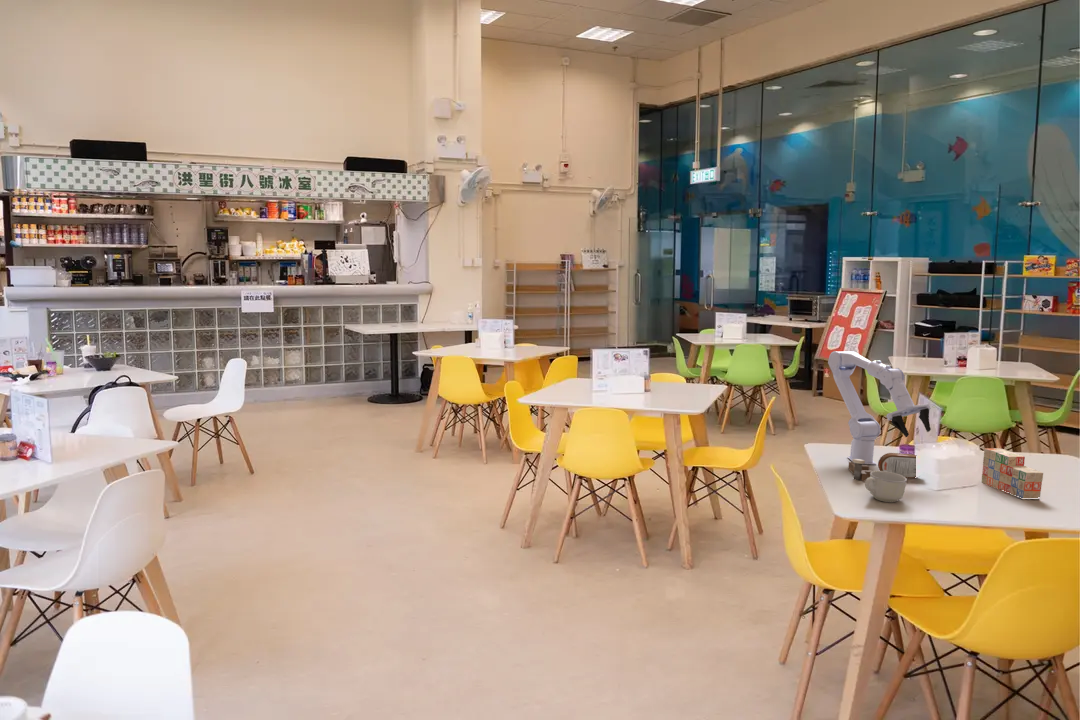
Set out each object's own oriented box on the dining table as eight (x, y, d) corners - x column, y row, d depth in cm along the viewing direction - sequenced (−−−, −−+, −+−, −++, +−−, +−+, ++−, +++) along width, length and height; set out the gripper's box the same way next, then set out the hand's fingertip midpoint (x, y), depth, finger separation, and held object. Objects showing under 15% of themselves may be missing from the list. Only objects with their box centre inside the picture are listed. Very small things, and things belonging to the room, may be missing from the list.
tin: (920, 477, 286) (923, 454, 285) (924, 479, 283) (926, 456, 282) (876, 475, 287) (878, 451, 286) (879, 477, 284) (881, 453, 283)
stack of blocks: (1040, 500, 262) (1044, 463, 261) (1022, 500, 262) (1026, 463, 260) (997, 482, 283) (1001, 447, 282) (980, 482, 283) (984, 447, 281)
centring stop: (839, 468, 294) (841, 450, 294) (863, 469, 294) (865, 451, 293) (852, 480, 279) (854, 461, 278) (878, 481, 278) (880, 462, 277)
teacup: (891, 494, 263) (893, 470, 262) (912, 504, 253) (914, 479, 252) (852, 495, 261) (854, 470, 260) (871, 505, 250) (873, 480, 249)
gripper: (884, 399, 284) (900, 433, 277) (925, 389, 283) (942, 423, 276) (879, 407, 290) (895, 441, 283) (919, 397, 289) (936, 431, 283)
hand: (918, 433), depth 280 cm, fingers open, 7 cm apart
